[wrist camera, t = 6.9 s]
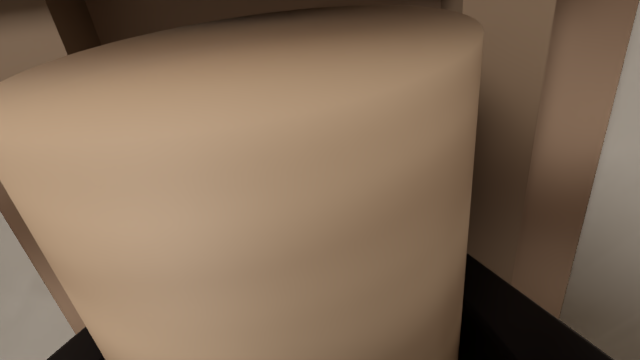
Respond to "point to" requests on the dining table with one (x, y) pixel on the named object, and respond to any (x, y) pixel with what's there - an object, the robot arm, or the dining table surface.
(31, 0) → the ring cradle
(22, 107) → the tan wooden cylinder
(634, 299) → the dining table surface
